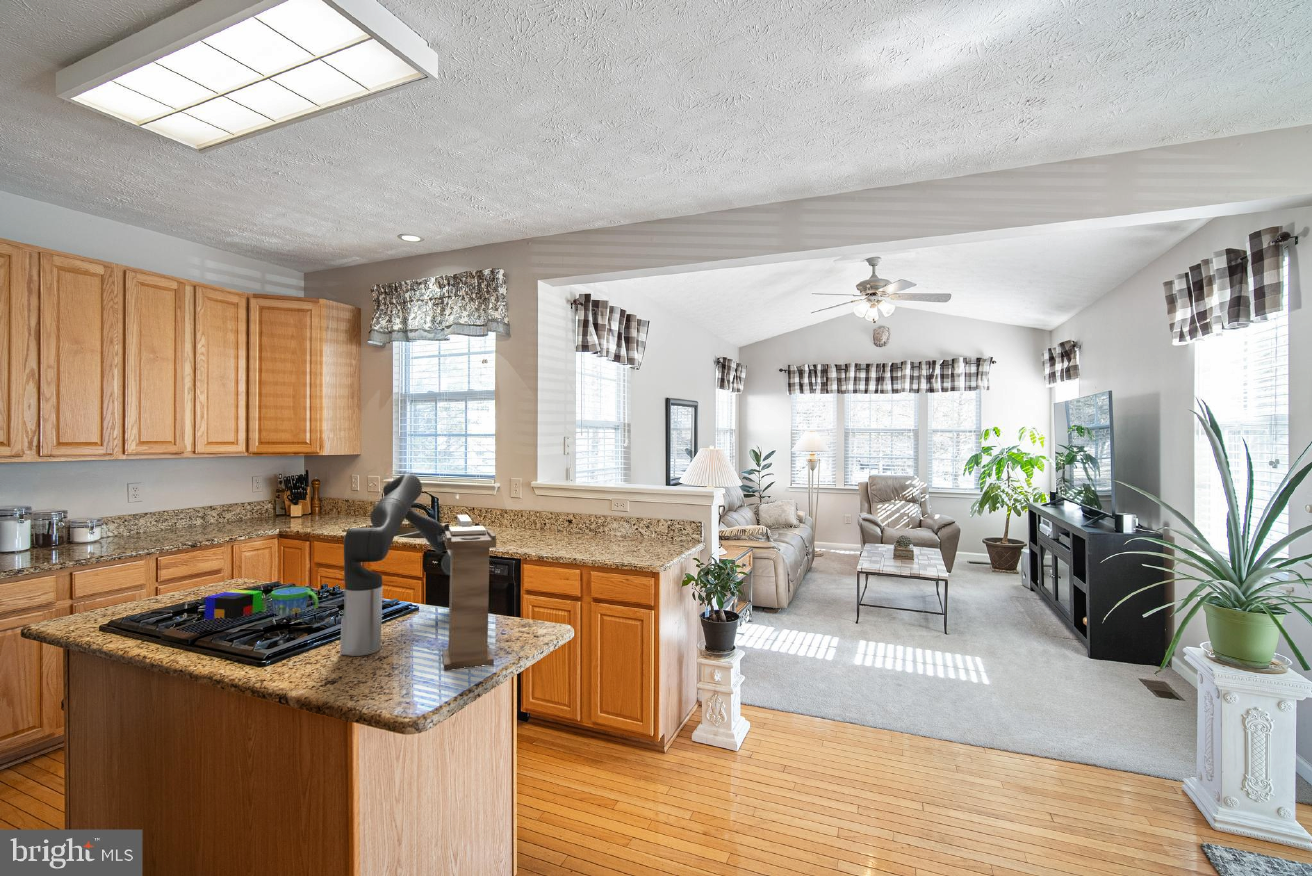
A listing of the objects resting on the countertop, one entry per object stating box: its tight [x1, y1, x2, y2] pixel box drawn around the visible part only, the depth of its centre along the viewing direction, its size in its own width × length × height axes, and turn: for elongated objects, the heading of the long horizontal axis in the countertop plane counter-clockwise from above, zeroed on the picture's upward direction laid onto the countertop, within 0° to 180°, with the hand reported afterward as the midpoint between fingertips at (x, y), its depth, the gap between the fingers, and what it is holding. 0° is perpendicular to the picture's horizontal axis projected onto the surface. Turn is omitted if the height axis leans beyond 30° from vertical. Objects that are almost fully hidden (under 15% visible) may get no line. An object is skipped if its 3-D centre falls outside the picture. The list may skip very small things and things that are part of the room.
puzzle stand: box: [441, 529, 497, 672], centre depth 156 cm, size 12×12×33 cm
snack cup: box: [261, 586, 319, 615], centre depth 186 cm, size 16×10×10 cm
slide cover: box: [449, 514, 487, 535], centre depth 172 cm, size 26×9×2 cm, turn 22°
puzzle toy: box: [204, 589, 263, 620], centre depth 181 cm, size 10×10×10 cm
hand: (462, 525), depth 185 cm, fingers open, 8 cm apart
